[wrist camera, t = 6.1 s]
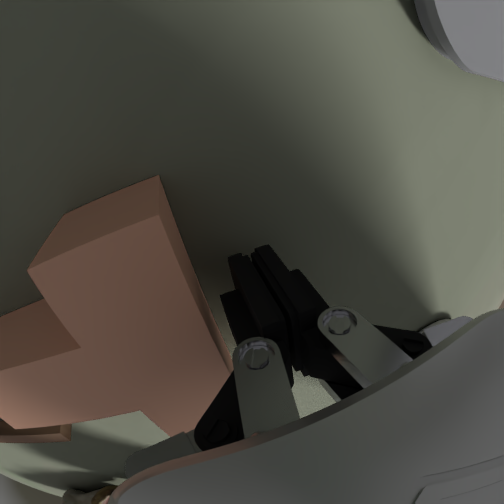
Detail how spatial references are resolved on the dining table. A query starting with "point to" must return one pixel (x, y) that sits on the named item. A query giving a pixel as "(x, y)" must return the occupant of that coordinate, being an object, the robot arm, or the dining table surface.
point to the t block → (113, 322)
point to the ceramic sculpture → (88, 496)
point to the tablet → (466, 33)
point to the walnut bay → (34, 434)
